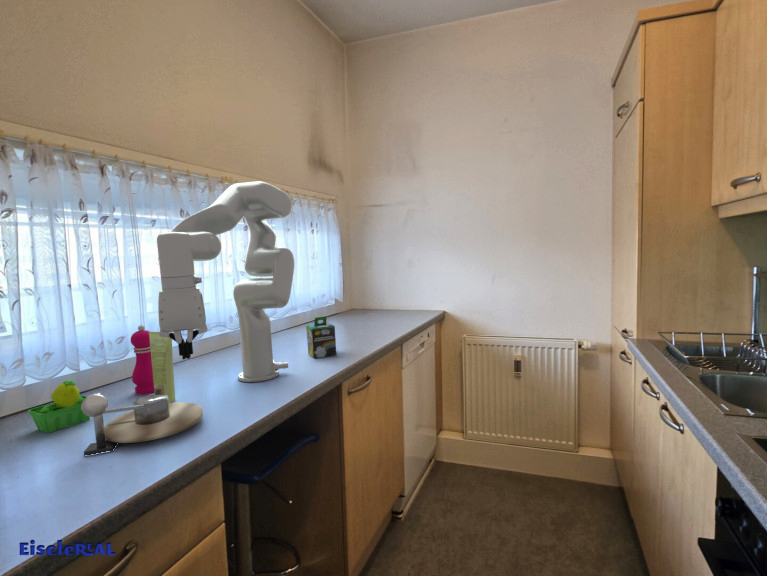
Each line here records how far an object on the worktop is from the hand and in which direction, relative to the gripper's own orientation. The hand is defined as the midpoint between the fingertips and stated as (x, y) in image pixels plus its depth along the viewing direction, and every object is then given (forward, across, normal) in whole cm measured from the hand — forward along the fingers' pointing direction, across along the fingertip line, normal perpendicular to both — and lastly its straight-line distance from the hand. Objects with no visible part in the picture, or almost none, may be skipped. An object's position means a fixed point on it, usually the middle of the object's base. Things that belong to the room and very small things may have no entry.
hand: (186, 357), depth 104 cm
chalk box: (+16, -42, -44) cm, 63 cm away
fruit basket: (+15, +29, -7) cm, 33 cm away
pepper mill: (+15, +14, -27) cm, 34 cm away
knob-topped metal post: (+14, +13, +13) cm, 23 cm away
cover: (+12, +8, +6) cm, 15 cm away
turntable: (+13, +7, +6) cm, 16 cm away
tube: (+15, +8, -14) cm, 22 cm away
